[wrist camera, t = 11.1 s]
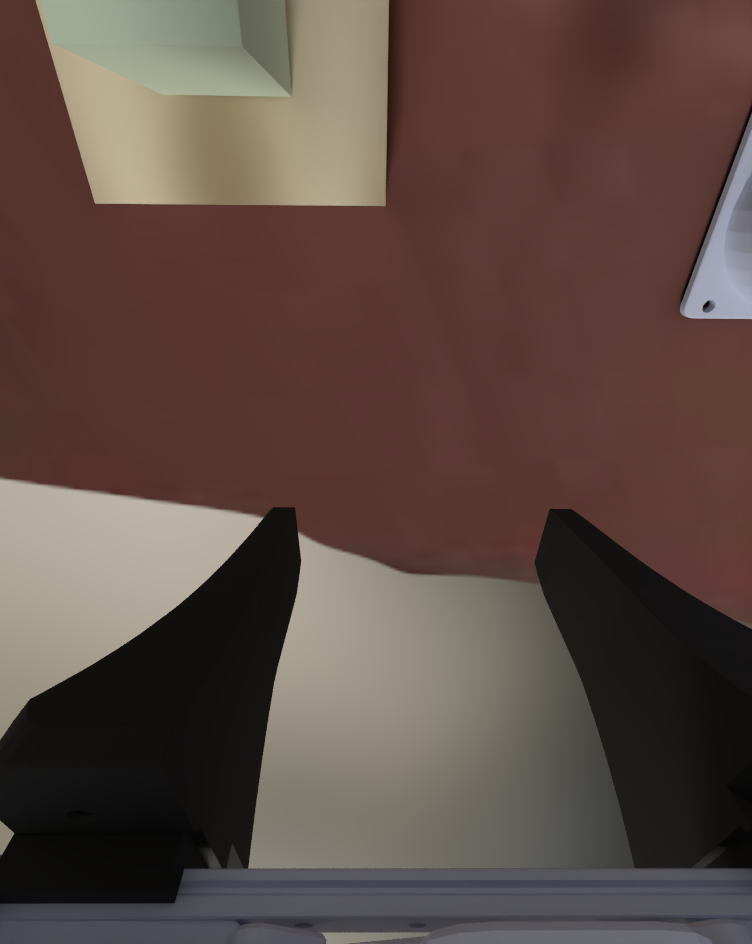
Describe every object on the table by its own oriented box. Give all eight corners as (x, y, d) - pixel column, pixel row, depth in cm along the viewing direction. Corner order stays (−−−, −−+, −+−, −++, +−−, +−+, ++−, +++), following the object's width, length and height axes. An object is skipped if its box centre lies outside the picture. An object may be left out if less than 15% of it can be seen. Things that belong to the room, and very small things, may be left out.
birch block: (390, -219, 12) (394, -333, 9) (384, 205, 17) (385, 205, 15) (31, -222, 12) (-64, -338, 9) (136, 203, 17) (95, 203, 15)
